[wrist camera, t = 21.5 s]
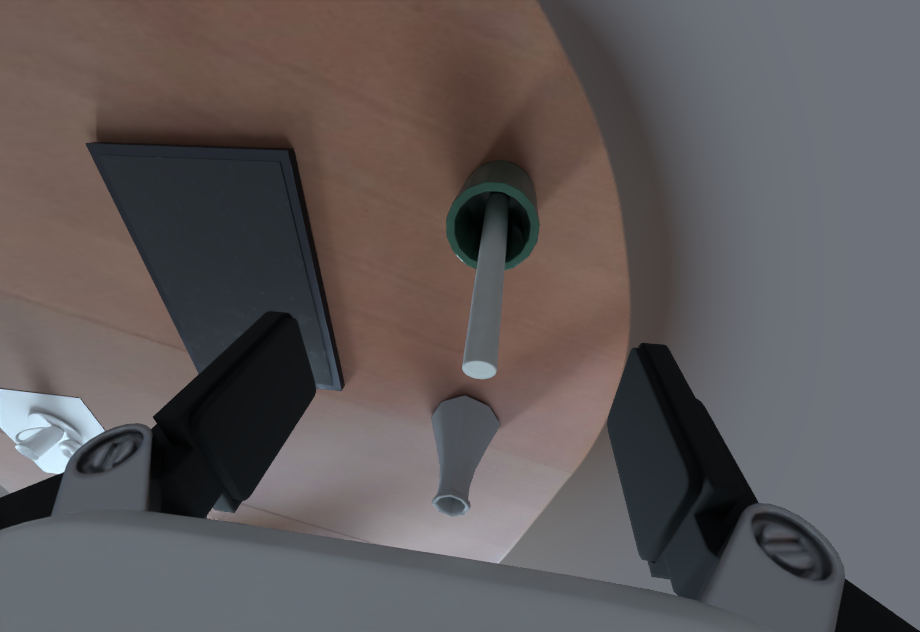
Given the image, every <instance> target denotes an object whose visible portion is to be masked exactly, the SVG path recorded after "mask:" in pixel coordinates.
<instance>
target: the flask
mask: <svg viewBox="0 0 920 632" xmlns="http://www.w3.org/2000/svg"><path fill="white" fill-rule="evenodd" d="M431 419H432V425H433V430H434V435H435V440H436V445H437V451H438V457H439V464H440V483H439V488H438V493H437V495H436V496H435V497H434V498H433V501H432V504H433V505H434V506H435V507H436V509H437V510H438V511H439V512H442V513H444V514H447V515H449V516H458V515H464V514H465V513H466V512H467V511H468V510H469V509H470V502H469V501H468V494H469V487H470V484H471V481H472V478H473V475H474V472H475V469H476V467H477V465H478V464H479V462H480V460H481V458H482V456H483V454H484V452H485V450H486V449H487V447H488V445H489V443H490V442H491V440H492V438H493V437H494V435H495V433H496V432H497V430H498V428H499V426H500V423H499V421H498V420H497V418H496V416H495V415H494V413H493V412H492V410H491V408H490V407H489V406H487V405H485V404H483V403H481V402H479V401H476V400H474V399H472V398H470V397H468V396H465V395H464V396H461V397H457V398H453V399H450V400H446V401H443V402H441V403H440V405H439V406H438V408H437V409H436V411H435V412H434V414H433V415H432V417H431Z"/></svg>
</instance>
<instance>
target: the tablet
mask: <svg viewBox="0 0 920 632" xmlns="http://www.w3.org/2000/svg"><path fill="white" fill-rule="evenodd" d="M86 146H87V148H88V150H89V152H90V154H91V156H92V158H93V160H94V162H95V164H96V166H97V168H98V170H99V172H100V174H101V176H102V178H103V180H104V182H105V184H106V186H107V188H108V190H109V192H110V194H111V196H112V199H113V201H114V203H115V205H116V207H117V209H118V211H119V213H120V215H121V217H122V219H123V221H124V223H125V225H126V227H127V229H128V231H129V233H130V235H131V237H132V239H133V241H134V243H135V245H136V247H137V249H138V251H139V253H140V255H141V257H142V259H143V261H144V263H145V265H146V267H147V270H148V272H149V274H150V276H151V278H152V280H153V282H154V284H155V286H156V288H157V290H158V292H159V294H160V296H161V298H162V300H163V302H164V304H165V306H166V308H167V310H168V312H169V314H170V316H171V318H172V320H173V322H174V324H175V326H176V328H177V330H178V332H179V334H180V336H181V338H182V340H183V343H184V345H185V347H186V349H187V351H188V353H189V355H190V357H191V359H192V361H193V363H194V365H195V367H196V369H197V371H198V373H199V374H200V373H201V372H202V371H203V370H204V369H205V368H206V367H207V366H208V365H209V364H211V363H212V362H213V361H214V360H215V359H216V358H217V357H218V356H219V355H220V354H221V353H222V352H223V351H225V350H226V349H227V348H228V347H229V346H230V345H231V344H232V343H233V342H234V341H235V340H236V339H237V338H239V337H240V336H241V335H242V334H243V333H244V332H245V331H246V330H247V329H248V328H249V327H250V326H252V325H253V324H254V323H255V322H256V321H257V320H258V319H259V318H260V317H261V316H262V315H263V314H264V313H266V312H267V311H276V312H287V313H290V314H291V315H292V317H293V318H295V319H296V320H297V321H298V324H299V328H300V331H301V335H302V338H303V342H304V345H305V348H306V352H307V355H308V359H309V362H310V366H311V369H312V373H313V376H314V380H315V383H316V388H319V389H328V390H336V391H342V389H343V388H344V386H345V384H344V380H343V375H342V370H341V366H340V361H339V356H338V352H337V347H336V343H335V338H334V333H333V329H332V324H331V319H330V315H329V310H328V305H327V301H326V296H325V291H324V287H323V282H322V277H321V273H320V268H319V264H318V259H317V254H316V250H315V245H314V240H313V236H312V231H311V226H310V222H309V217H308V212H307V208H306V203H305V198H304V194H303V189H302V185H301V180H300V175H299V171H298V166H297V161H296V157H295V152H294V149H288V148H259V147H230V146H200V145H171V144H142V143H112V142H92V143H86Z"/></svg>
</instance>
